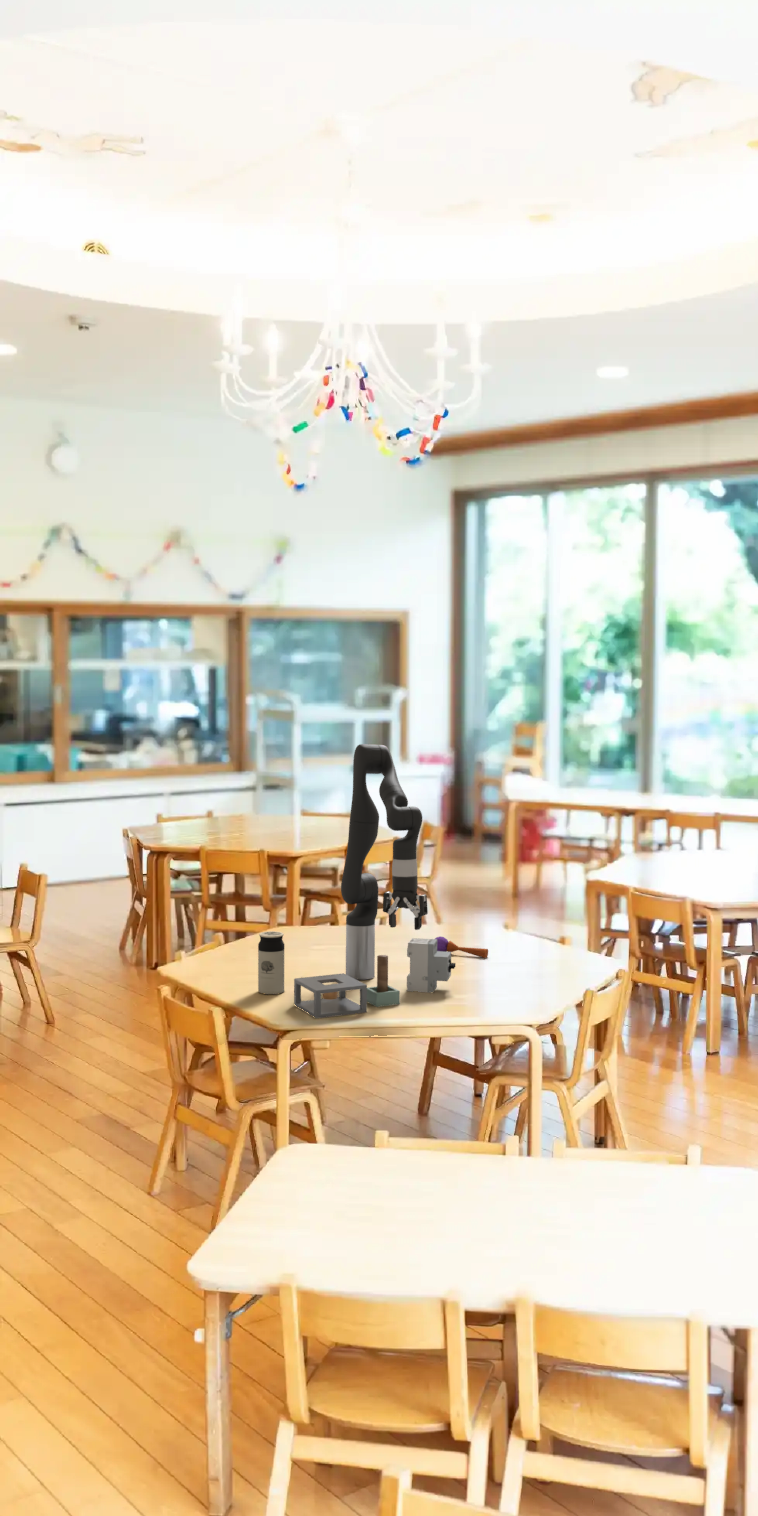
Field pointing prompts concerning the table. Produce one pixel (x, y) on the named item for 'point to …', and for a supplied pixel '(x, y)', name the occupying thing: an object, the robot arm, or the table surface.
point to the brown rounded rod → (382, 973)
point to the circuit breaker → (427, 965)
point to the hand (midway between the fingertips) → (405, 928)
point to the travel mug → (271, 963)
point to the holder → (383, 997)
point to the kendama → (459, 948)
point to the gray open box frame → (334, 1006)
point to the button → (330, 995)
